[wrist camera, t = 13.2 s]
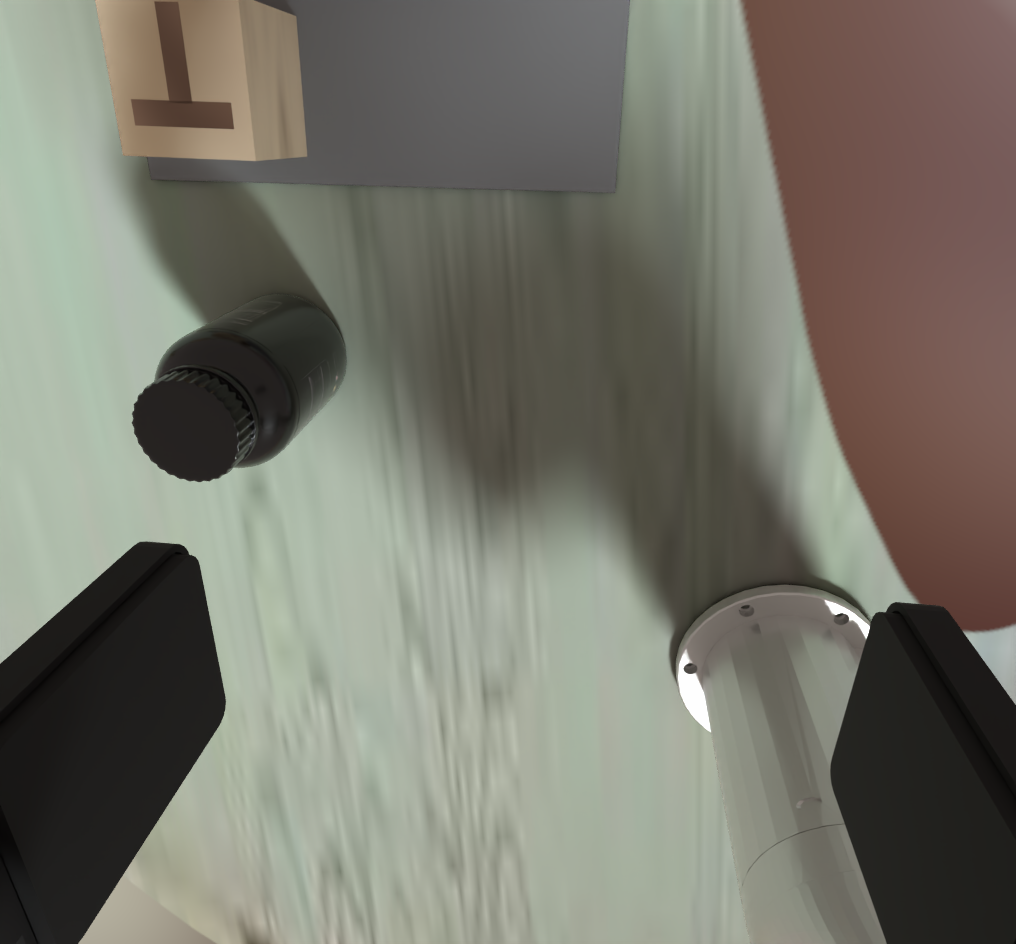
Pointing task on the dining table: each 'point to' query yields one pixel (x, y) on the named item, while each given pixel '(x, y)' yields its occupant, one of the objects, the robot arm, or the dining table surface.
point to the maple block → (204, 78)
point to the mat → (449, 96)
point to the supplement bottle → (240, 388)
